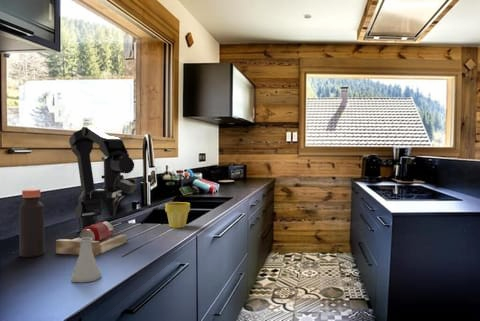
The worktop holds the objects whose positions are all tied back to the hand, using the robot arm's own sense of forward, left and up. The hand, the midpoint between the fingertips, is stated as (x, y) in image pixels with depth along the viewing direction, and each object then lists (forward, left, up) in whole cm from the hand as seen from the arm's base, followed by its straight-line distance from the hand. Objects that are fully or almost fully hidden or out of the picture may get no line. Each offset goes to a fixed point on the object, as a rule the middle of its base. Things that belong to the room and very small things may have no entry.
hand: (112, 215), depth 137 cm
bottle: (-13, -24, -9) cm, 29 cm away
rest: (0, -12, -9) cm, 15 cm away
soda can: (-2, -1, -5) cm, 6 cm away
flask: (+17, -40, -9) cm, 44 cm away
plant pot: (+14, +27, -9) cm, 32 cm away
